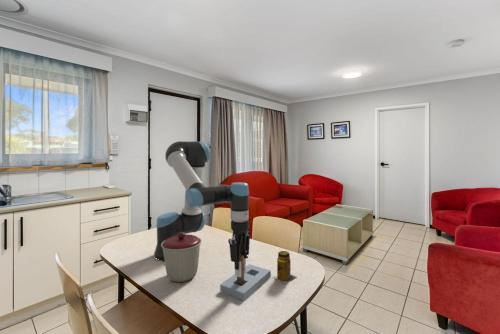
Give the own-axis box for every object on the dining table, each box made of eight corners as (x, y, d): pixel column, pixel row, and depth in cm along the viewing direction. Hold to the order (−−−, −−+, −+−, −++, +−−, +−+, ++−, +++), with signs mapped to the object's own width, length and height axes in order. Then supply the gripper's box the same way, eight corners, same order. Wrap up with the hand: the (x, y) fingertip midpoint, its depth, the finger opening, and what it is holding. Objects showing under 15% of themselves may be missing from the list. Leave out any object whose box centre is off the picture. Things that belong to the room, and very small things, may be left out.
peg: (235, 283, 104) (235, 256, 103) (239, 280, 106) (239, 253, 105) (241, 286, 102) (241, 257, 101) (245, 282, 104) (245, 255, 104)
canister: (155, 286, 106) (153, 239, 105) (170, 267, 124) (169, 226, 123) (196, 287, 106) (195, 239, 104) (205, 267, 124) (205, 226, 122)
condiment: (273, 278, 113) (273, 252, 113) (284, 271, 119) (284, 247, 118) (285, 284, 108) (285, 257, 107) (297, 277, 114) (297, 252, 113)
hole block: (220, 291, 103) (220, 284, 102) (249, 270, 121) (249, 264, 121) (243, 300, 96) (243, 293, 96) (270, 276, 114) (270, 270, 114)
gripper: (236, 225, 94) (236, 285, 95) (257, 216, 107) (257, 269, 108) (220, 222, 98) (221, 280, 99) (243, 214, 111) (243, 265, 112)
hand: (240, 274), depth 104 cm, fingers closed on peg, 2 cm apart
